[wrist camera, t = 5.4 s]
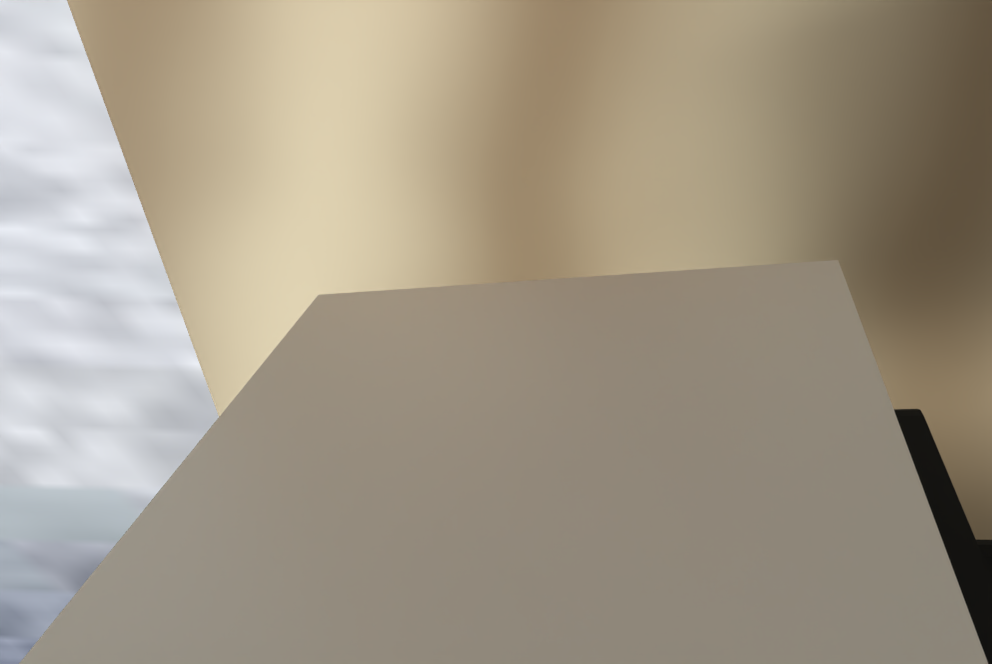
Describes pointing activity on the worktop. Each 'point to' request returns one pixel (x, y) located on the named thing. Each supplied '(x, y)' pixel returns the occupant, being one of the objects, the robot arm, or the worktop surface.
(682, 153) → the base board
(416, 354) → the off-white cube
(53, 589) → the worktop surface
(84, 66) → the worktop surface
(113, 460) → the worktop surface
